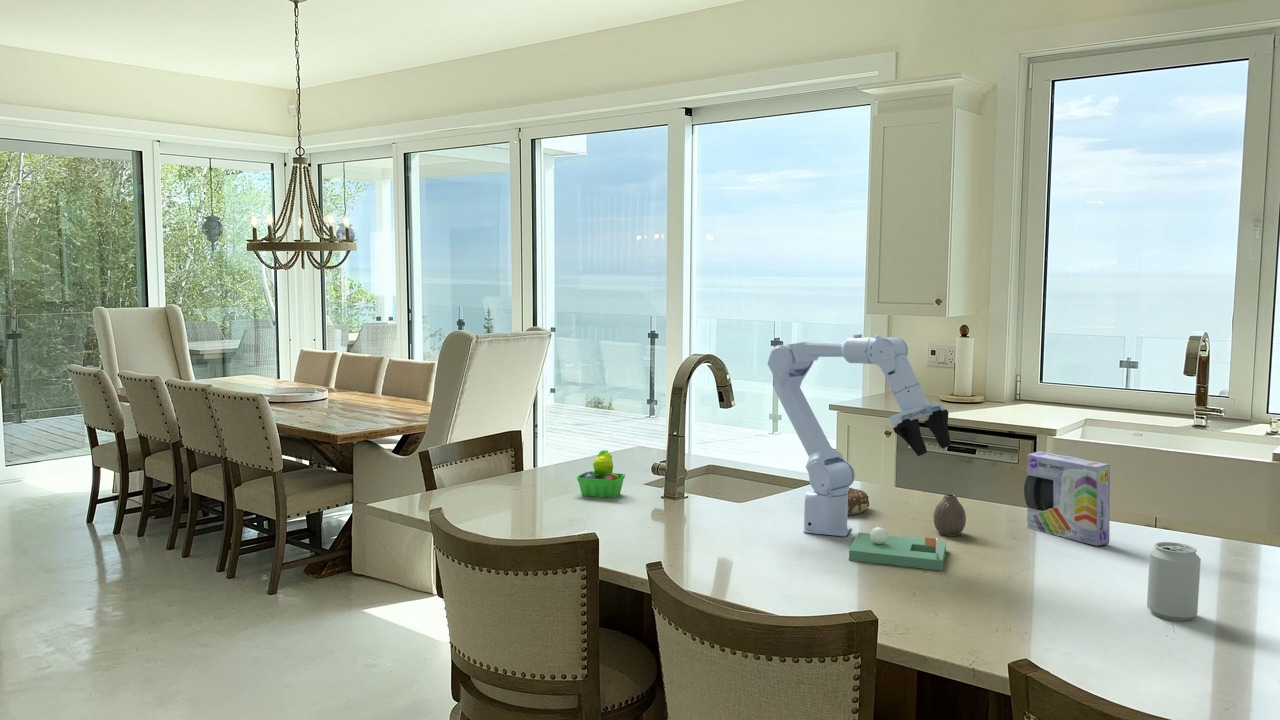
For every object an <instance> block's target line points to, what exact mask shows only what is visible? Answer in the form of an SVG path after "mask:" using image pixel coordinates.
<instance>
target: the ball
mask: <svg viewBox="0 0 1280 720" xmlns="http://www.w3.org/2000/svg"><path fill="white" fill-rule="evenodd" d="M869 534H870V538H871V540H872V541H873V542H874V543H876V544H882V543H884V542H885V541H886V540H887V535H888V532H887V530H886V529H885V528H883V527H880V526H876V527H874V528H872V530H871V531H870V533H869Z"/></svg>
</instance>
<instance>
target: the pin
mask: <svg viewBox="0 0 1280 720" xmlns="http://www.w3.org/2000/svg"><path fill="white" fill-rule="evenodd" d="M924 539H925V546H935V547H936V554H935V559H939V546H940V541H941V539H940V538H936V537H935V538H934V537H926V536H925V537H924Z"/></svg>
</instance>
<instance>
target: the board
mask: <svg viewBox="0 0 1280 720" xmlns="http://www.w3.org/2000/svg"><path fill="white" fill-rule="evenodd" d="M946 551H947V541H946V540H945V541H944V540H940V546H939V559H935V554H936V547H935V546H925V538H917V537H916V538H915V537H905V536H897V535H888V534H887V540H886V541H885V542H884V543H882V544H876V543H874V542H873V541H872V540H871V538H870V533H869V532H868V533H867V532H858V533H857V535H856V537H855V539H854V540H853V542H852V544H851V546H850V547H849V550H848V561H855V562H864V563H873V564H881V565H889V566H899V567H907V568H908V567H909V568H915V569H916V568H917V569H925V570H934V571H943V566H944V562H945V561H944V560H945V557H946Z"/></svg>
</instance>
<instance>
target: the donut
mask: <svg viewBox="0 0 1280 720" xmlns="http://www.w3.org/2000/svg"><path fill="white" fill-rule="evenodd" d="M869 501H870V500H869V495H868V494H867V493H866V492H865V490H861V489H857V488H852V487H849V491H848V515H856V514H857V515H858V514H862V513H863V512H864V511H865V510H867V508H869V507H870V502H869Z"/></svg>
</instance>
